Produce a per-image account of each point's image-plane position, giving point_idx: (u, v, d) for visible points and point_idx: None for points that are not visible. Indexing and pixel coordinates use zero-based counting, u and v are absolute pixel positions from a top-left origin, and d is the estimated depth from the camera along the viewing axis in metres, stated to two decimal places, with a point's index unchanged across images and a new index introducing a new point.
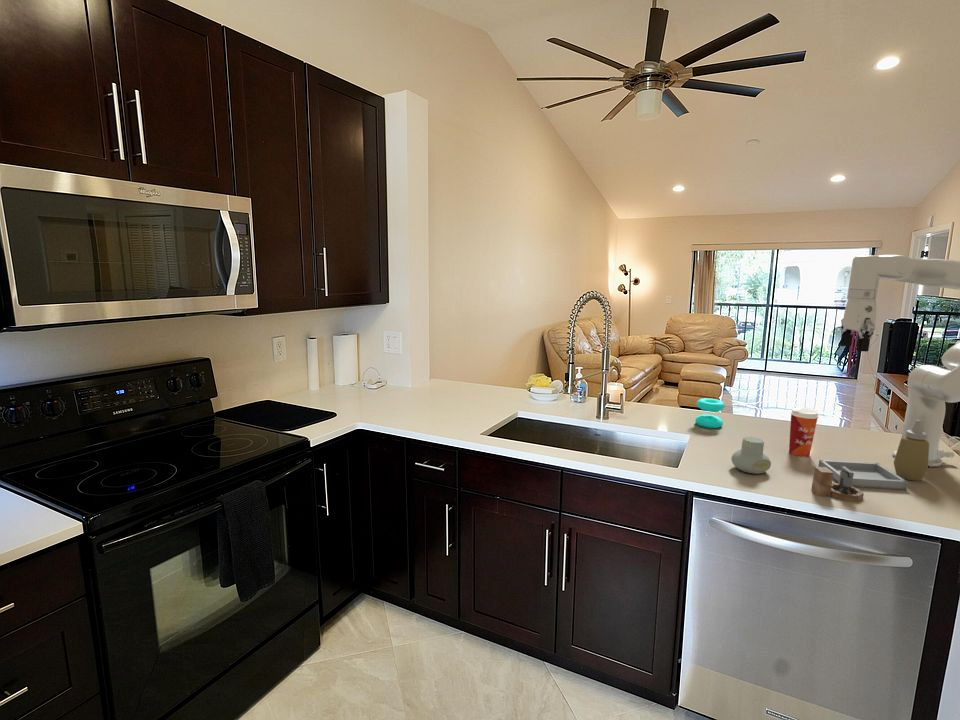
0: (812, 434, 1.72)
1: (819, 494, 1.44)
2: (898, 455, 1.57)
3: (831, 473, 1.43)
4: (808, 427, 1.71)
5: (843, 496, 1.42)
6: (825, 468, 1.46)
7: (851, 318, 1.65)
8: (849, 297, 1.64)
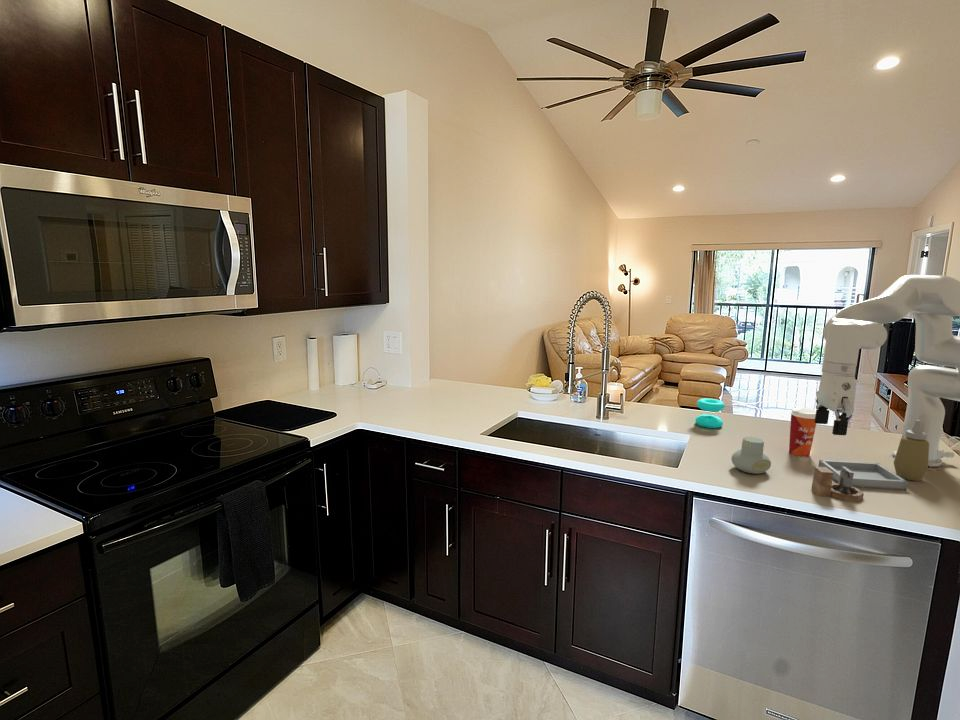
0: (812, 434, 1.72)
1: (819, 494, 1.44)
2: (898, 455, 1.57)
3: (831, 473, 1.43)
4: (808, 427, 1.71)
5: (843, 496, 1.42)
6: (825, 468, 1.46)
7: (826, 395, 1.40)
8: (824, 370, 1.40)
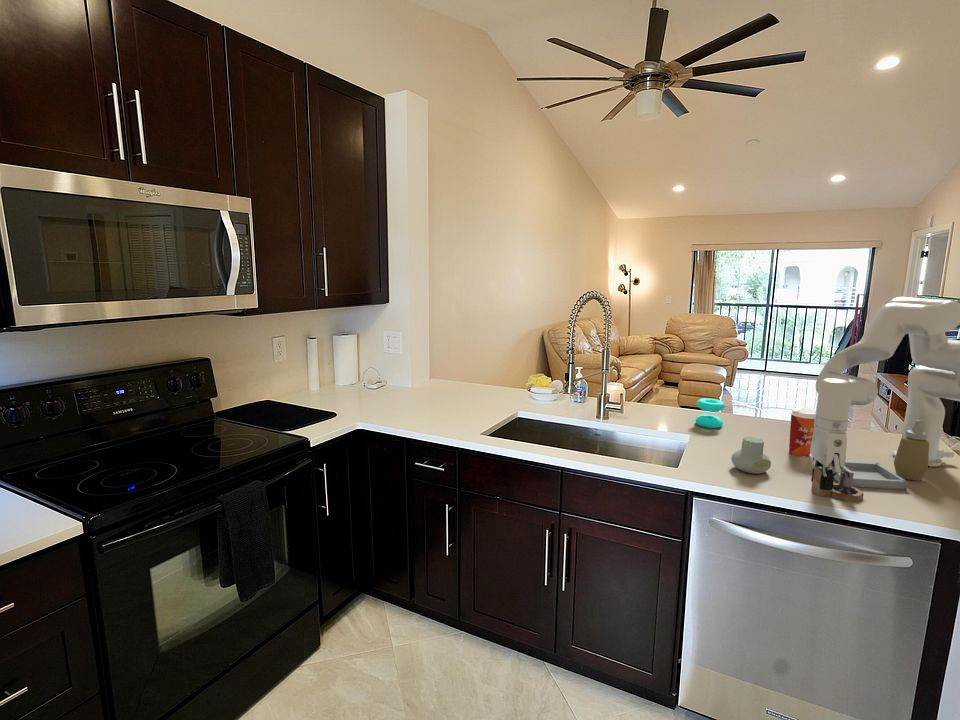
0: (812, 434, 1.72)
1: (819, 494, 1.44)
2: (898, 455, 1.57)
3: None
4: (808, 427, 1.71)
5: (843, 496, 1.42)
6: None
7: (819, 449, 1.43)
8: (816, 426, 1.43)
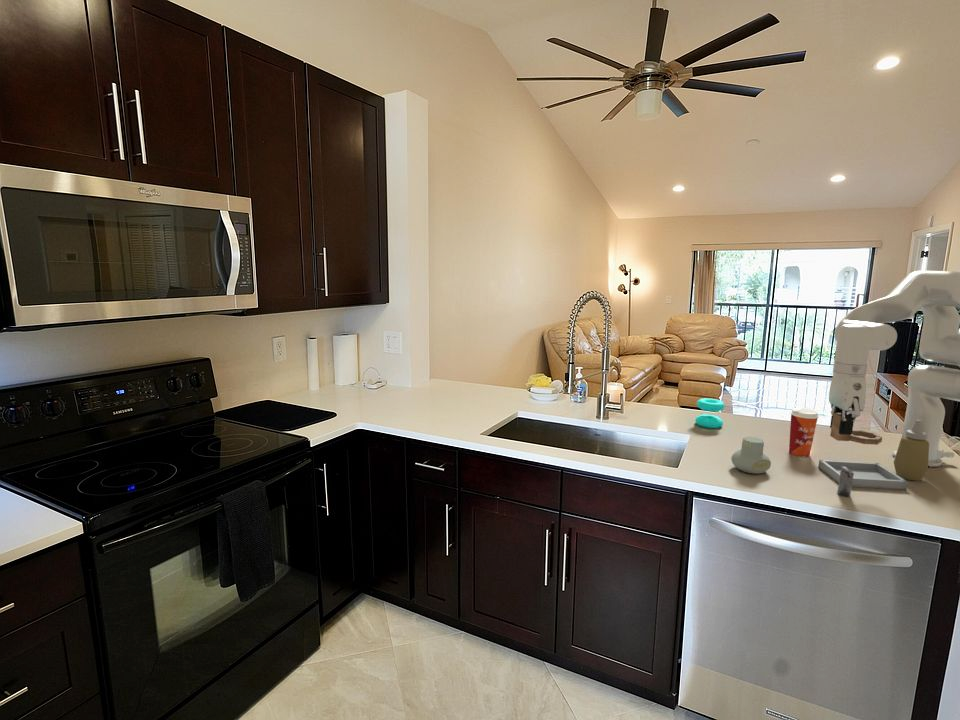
0: (812, 434, 1.72)
1: (838, 439, 1.47)
2: (898, 455, 1.57)
3: None
4: (808, 427, 1.71)
5: (862, 440, 1.44)
6: None
7: (838, 394, 1.45)
8: (835, 371, 1.45)
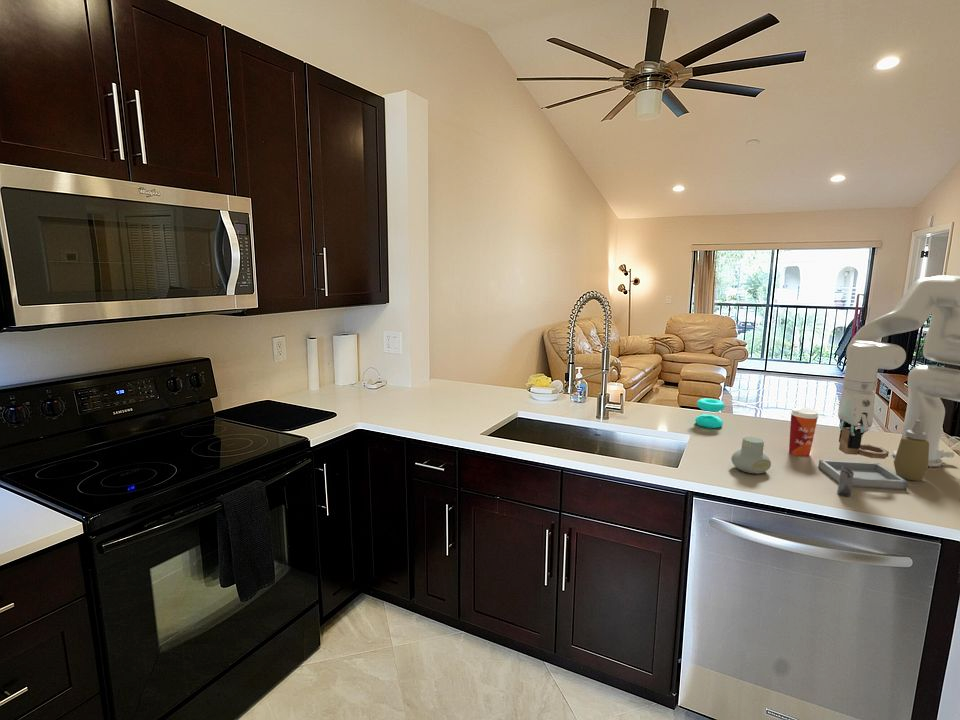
0: (812, 434, 1.72)
1: (847, 452, 1.54)
2: (898, 455, 1.57)
3: None
4: (808, 427, 1.71)
5: (870, 454, 1.51)
6: None
7: (847, 410, 1.52)
8: (845, 388, 1.52)
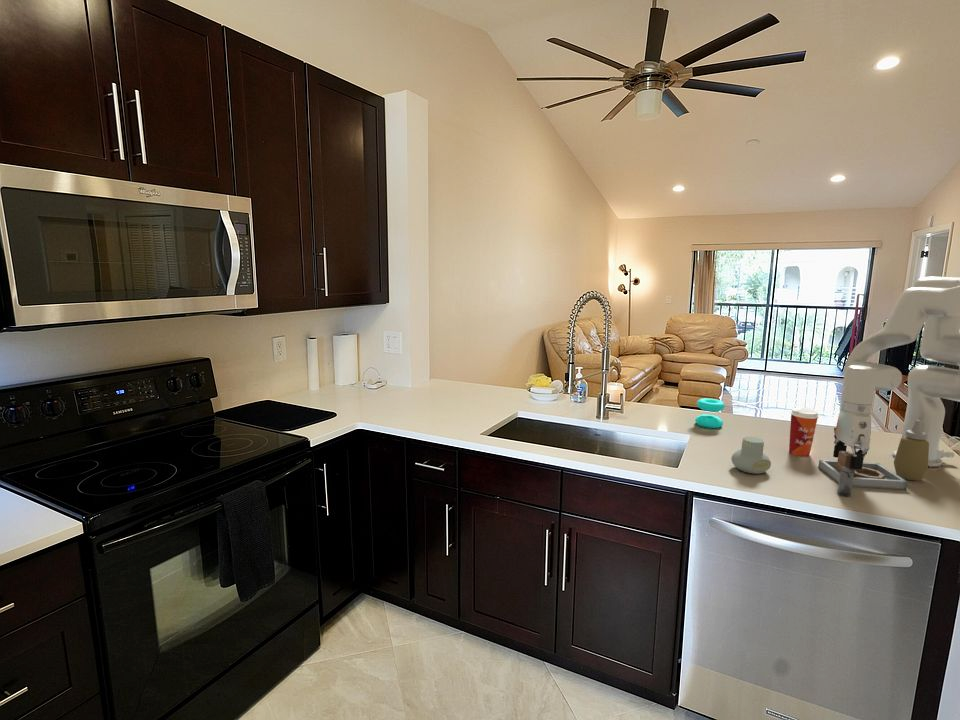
0: (812, 434, 1.72)
1: None
2: (898, 455, 1.57)
3: None
4: (808, 427, 1.71)
5: None
6: (849, 452, 1.56)
7: (844, 431, 1.54)
8: (842, 409, 1.53)
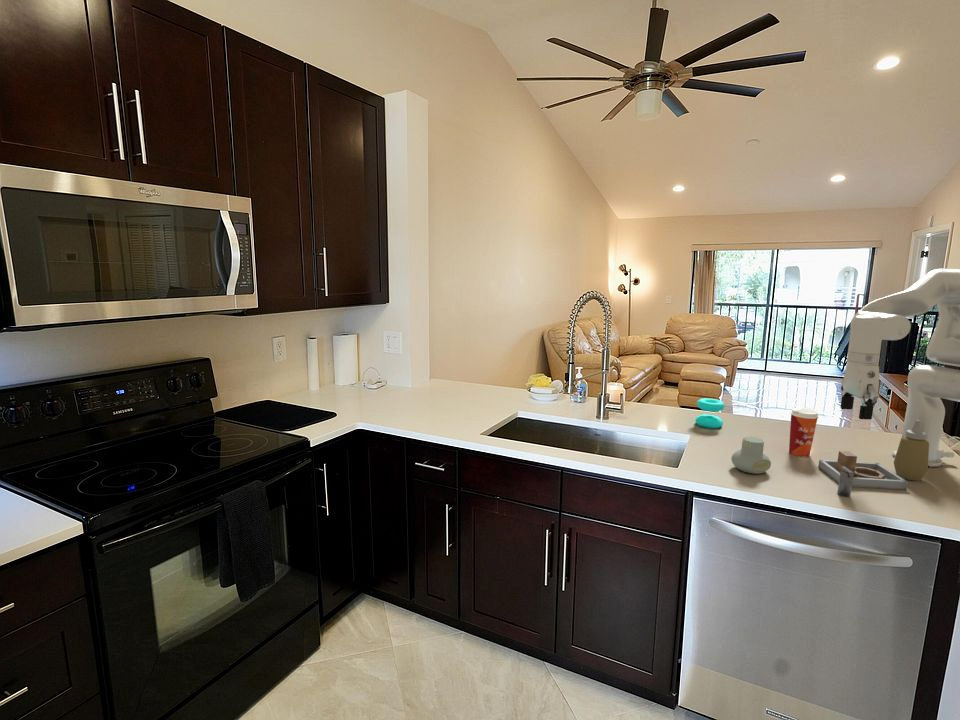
0: (812, 434, 1.72)
1: None
2: (898, 455, 1.57)
3: (855, 457, 1.54)
4: (808, 427, 1.71)
5: None
6: (849, 452, 1.56)
7: (852, 382, 1.53)
8: (849, 360, 1.52)
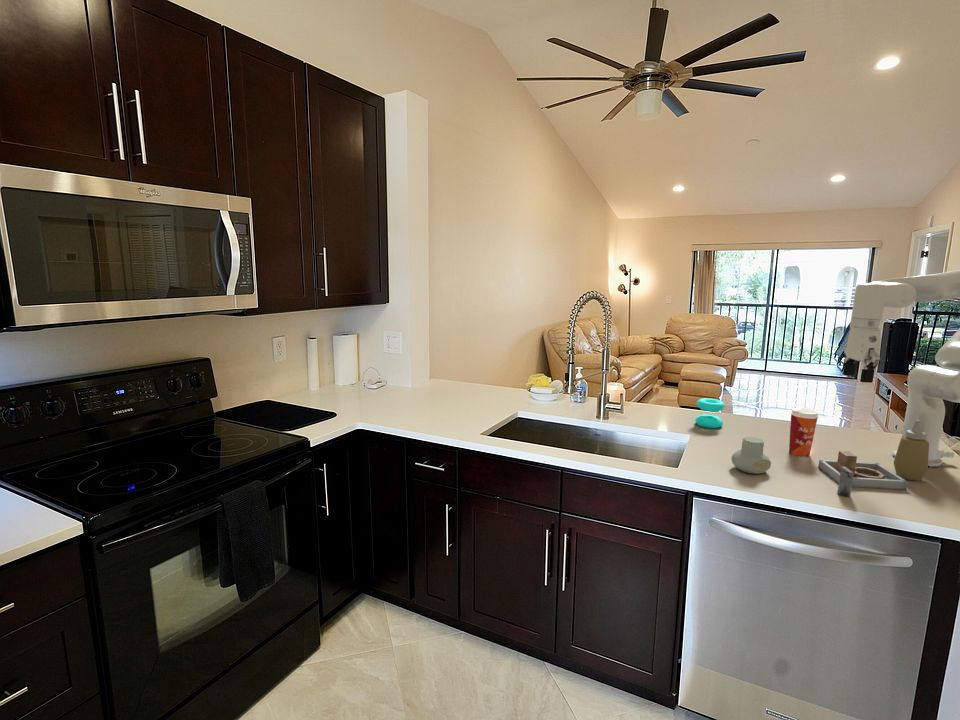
0: (812, 434, 1.72)
1: None
2: (898, 455, 1.57)
3: (855, 457, 1.54)
4: (808, 427, 1.71)
5: None
6: (849, 452, 1.56)
7: (854, 348, 1.59)
8: (852, 326, 1.58)
